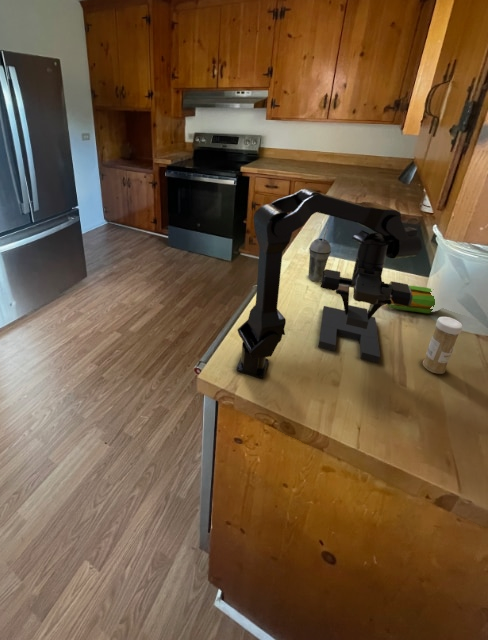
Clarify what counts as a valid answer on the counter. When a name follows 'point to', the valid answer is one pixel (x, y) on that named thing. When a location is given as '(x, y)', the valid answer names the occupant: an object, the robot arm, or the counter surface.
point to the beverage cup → (318, 258)
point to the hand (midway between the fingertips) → (356, 316)
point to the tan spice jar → (442, 344)
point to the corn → (418, 301)
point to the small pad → (357, 317)
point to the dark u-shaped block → (348, 333)
